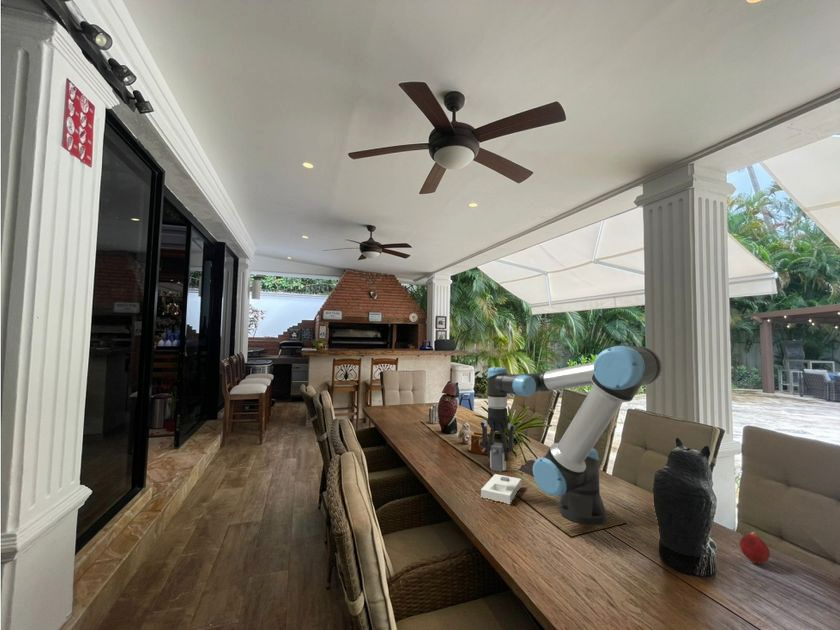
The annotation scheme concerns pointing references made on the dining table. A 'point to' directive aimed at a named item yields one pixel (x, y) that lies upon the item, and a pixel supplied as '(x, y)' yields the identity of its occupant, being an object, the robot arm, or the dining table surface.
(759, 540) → the red oval piece
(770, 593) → the dining table surface
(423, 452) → the dining table surface
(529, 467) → the hardcover book
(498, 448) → the plug
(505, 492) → the socket
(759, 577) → the dining table surface
